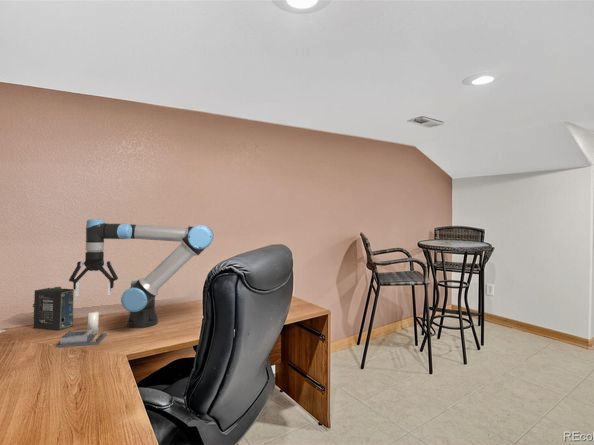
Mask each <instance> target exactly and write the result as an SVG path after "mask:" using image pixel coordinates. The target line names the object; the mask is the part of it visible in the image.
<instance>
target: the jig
mask: <svg viewBox="0 0 594 445" xmlns="http://www.w3.org/2000/svg"><path fill="white" fill-rule="evenodd" d="M107 334H108V333H107V332H106V333H105V332H104V330H103V331H102V330H100V331H98V334H94V330H88V329H82V330H69V331H67V332H66V333H65V334H63V336H61V337H60V341H59V342H58V344H56V345H55V348H56V347H58V348H71V347H82V346H83V347H84V346H96V345H99V346H100V344H101V343H102V341H103V340H105V338H106V337H107Z"/></svg>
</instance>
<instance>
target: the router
mask: <svg viewBox="0 0 594 445" xmlns="http://www.w3.org/2000/svg"><path fill="white" fill-rule="evenodd" d="M74 293H75V289H73V288H62V286H54V287H46V288H42V289H41V288H40V289H35V290H34V295H33V296H34V297H33V298H34V300H33V303H32V308H33V317H32V319H33V327H32V329H35V330H37V329H38V330H48V331H62V330H65V329H68V328H71V327H73V325H74V321H73V320H74Z"/></svg>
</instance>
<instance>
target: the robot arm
mask: <svg viewBox="0 0 594 445" xmlns="http://www.w3.org/2000/svg"><path fill="white" fill-rule="evenodd" d="M129 239H132V240H133V239H134V240H148V241H149V240H150V241H162V242H163V241H166V242H178V243H179V242H180V244H179V245H178V246H177V247H176V248H175V249H174V250H173V251H171V253H170V254H169V255H167V257H165V258H164V259H163V261H161V262H160V263H159V264H158V265H157V266H156V267H155V268H154V269H153V270H152V271H150V272H149V274H148V275H146V276H145V277H140V278H139V279H137V280H131V281H130V282H131V283H130V287H129V288H127V289H125V291H124V292H123V293H122V294H121V298H120V302H121V305H122V307H123V308H124V309H125V310H126V311H128V312H129V314H128V317H127V320H126V327H127V328H147V327H148V328H149V327H152V326H155V325H157V324H158V322H159V317H158V313H157V311H156V307H155V305H156V302H155V301H156V296H158V292H159V289H160V288H161V287H163V286H164V285H165V284H166V283H168V281H169V280H170V279H171V278H173V276H174V275H175V274H176V273H177V272H179V271H180V269H181V268H183V266H185V265H186V264H187V262H189V261H190V260H191V259H192V258H193V257H194V256H199V255H200V254H202V252H203V251H205V249H207V248H208V247H209V246H210V245H212V242H213V240H214V233H213V230H212V229H211V228H210V227H208V226H207V225H203V224H197V225H195V226H187V227H178V226H177V227H176V226H175V227H174V226H173V227H172V226H161V225H146V224H145V225H144V224H132V223H106V222H105V219H101V218H100V219H99V218H98V219H97V218H94V219H93V218H90V219H89V218H88V219H87V220H86V226H85V255H84V256H85V258H84V259H85V260H84V261H77V264H76V267H75V268H74V271H73V272H72V274H71V275H70V277H69V279H68V282H70V283H71V282H72V283H73V286H72V289H74V290H75V296H74V297H75V298H76V297H78V298H79V297H80V280H81V278H83V277H84V276H85V274H87V273H88V271H89V272H96V271H100V272H101V273H102V275H104V277H105V278H107V280H109V281H108V284H107V296H111V295H112V289H113V288H114V286H115V285H114V284H115V283H114V282H115V281H117V280H118V279H119V277H118V275H117V274H116V271H115V269H114V268H113V266H112V262H111V260H108V261H105V259H104V255H105V254H104V253H105V252H104V250H105V248H104V247H105V240H129ZM104 265H105V266H106V267H107V269H108V271H109V272H108V271H107V270H106V269H105V268H104ZM83 266H85V268H84V269H83V270H82V271H81V272H80V274H79V271H80V270H81V268H82V267H83ZM78 274H79V275H78Z"/></svg>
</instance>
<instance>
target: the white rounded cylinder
mask: <svg viewBox="0 0 594 445" xmlns="http://www.w3.org/2000/svg"><path fill="white" fill-rule="evenodd" d="M99 315H100V313H99V311H90V312H88V313H87V330H94V334H98V333H99Z"/></svg>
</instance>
